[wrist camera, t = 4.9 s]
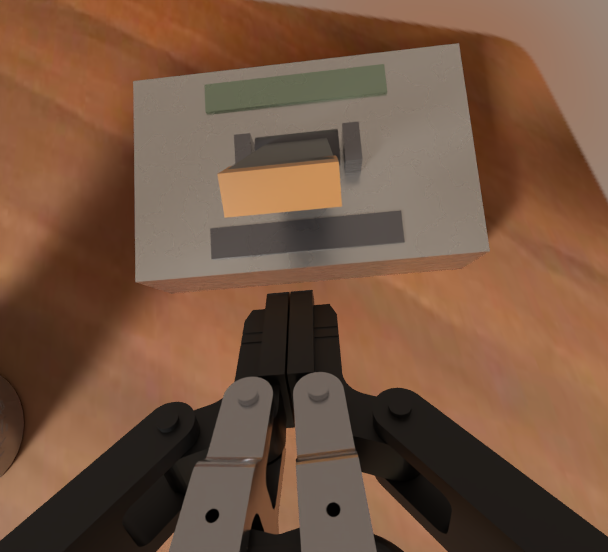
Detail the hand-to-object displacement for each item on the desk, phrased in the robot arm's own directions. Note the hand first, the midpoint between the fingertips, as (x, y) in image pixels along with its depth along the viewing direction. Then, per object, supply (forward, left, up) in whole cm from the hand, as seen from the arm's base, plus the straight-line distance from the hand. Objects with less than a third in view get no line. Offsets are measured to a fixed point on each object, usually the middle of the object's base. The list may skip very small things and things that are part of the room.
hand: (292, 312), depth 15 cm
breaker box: (0, +11, -18) cm, 21 cm away
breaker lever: (0, +11, -12) cm, 16 cm away
